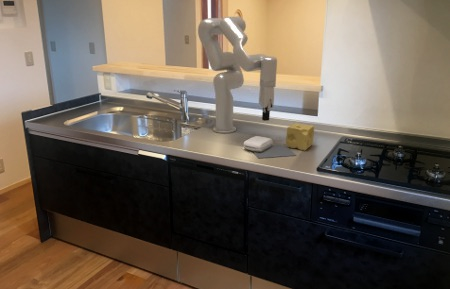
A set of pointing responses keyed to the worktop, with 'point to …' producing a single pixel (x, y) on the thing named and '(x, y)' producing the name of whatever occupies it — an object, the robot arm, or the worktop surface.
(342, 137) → the worktop surface
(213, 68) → the robot arm
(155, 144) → the worktop surface
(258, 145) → the photo printer
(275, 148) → the mat
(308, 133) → the cheese
